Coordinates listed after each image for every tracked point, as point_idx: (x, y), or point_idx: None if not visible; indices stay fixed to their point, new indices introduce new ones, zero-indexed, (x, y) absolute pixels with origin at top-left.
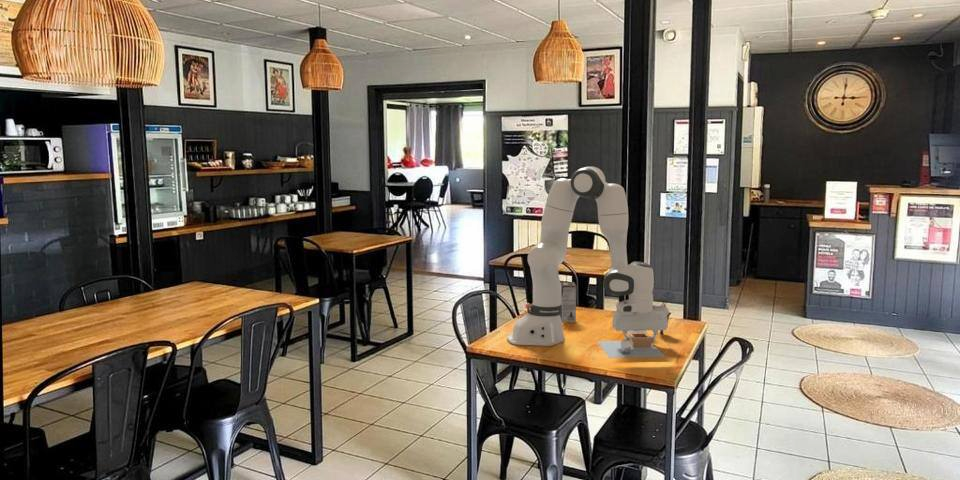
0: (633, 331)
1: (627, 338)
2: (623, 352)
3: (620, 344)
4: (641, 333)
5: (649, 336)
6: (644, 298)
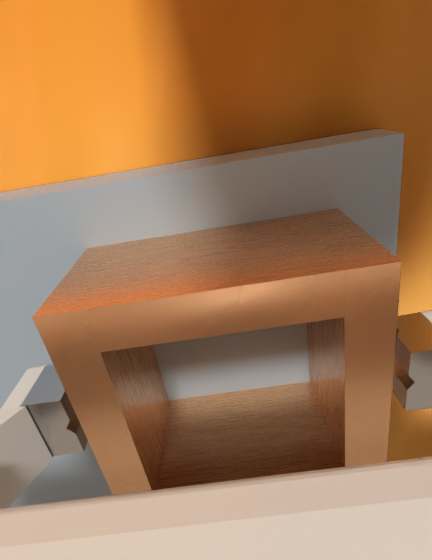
0: None
1: (53, 449)
2: None
3: (1, 349)
4: (294, 307)
5: (381, 448)
6: None
